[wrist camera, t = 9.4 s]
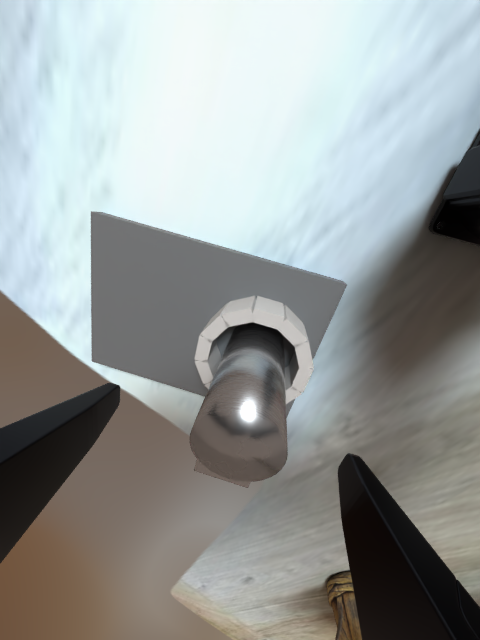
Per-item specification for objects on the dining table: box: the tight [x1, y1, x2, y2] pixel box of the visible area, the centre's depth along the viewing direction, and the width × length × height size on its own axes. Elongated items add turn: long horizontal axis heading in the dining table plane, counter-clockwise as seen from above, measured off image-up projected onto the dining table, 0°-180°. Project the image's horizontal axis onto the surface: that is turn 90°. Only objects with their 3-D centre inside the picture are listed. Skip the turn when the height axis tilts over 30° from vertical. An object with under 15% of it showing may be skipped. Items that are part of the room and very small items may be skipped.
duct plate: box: [91, 212, 347, 418], centre depth 19 cm, size 20×14×4 cm
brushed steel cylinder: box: [190, 322, 287, 488], centre depth 16 cm, size 9×5×10 cm, turn 166°
